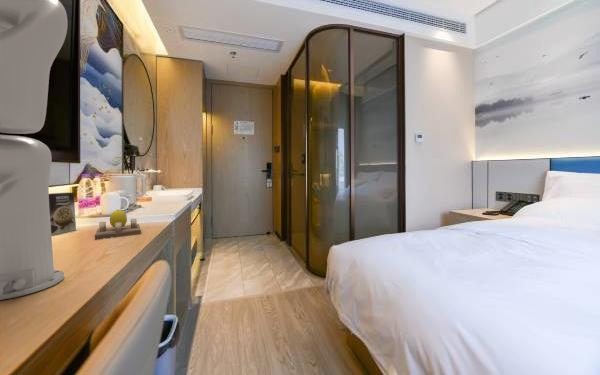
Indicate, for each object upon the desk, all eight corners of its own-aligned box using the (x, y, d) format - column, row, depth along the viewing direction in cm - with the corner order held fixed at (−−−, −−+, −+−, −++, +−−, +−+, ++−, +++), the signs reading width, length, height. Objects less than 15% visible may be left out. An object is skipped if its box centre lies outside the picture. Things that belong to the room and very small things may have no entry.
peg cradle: (140, 233, 98) (140, 221, 98) (94, 239, 90) (94, 226, 90) (139, 227, 110) (138, 216, 110) (98, 232, 102) (97, 220, 101)
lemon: (126, 227, 104) (124, 207, 103) (128, 229, 100) (127, 209, 99) (109, 229, 100) (108, 209, 99) (111, 231, 96) (110, 211, 95)
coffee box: (51, 236, 97) (48, 194, 96) (38, 235, 98) (35, 194, 97) (77, 230, 106) (74, 192, 105) (65, 230, 107) (62, 192, 106)
